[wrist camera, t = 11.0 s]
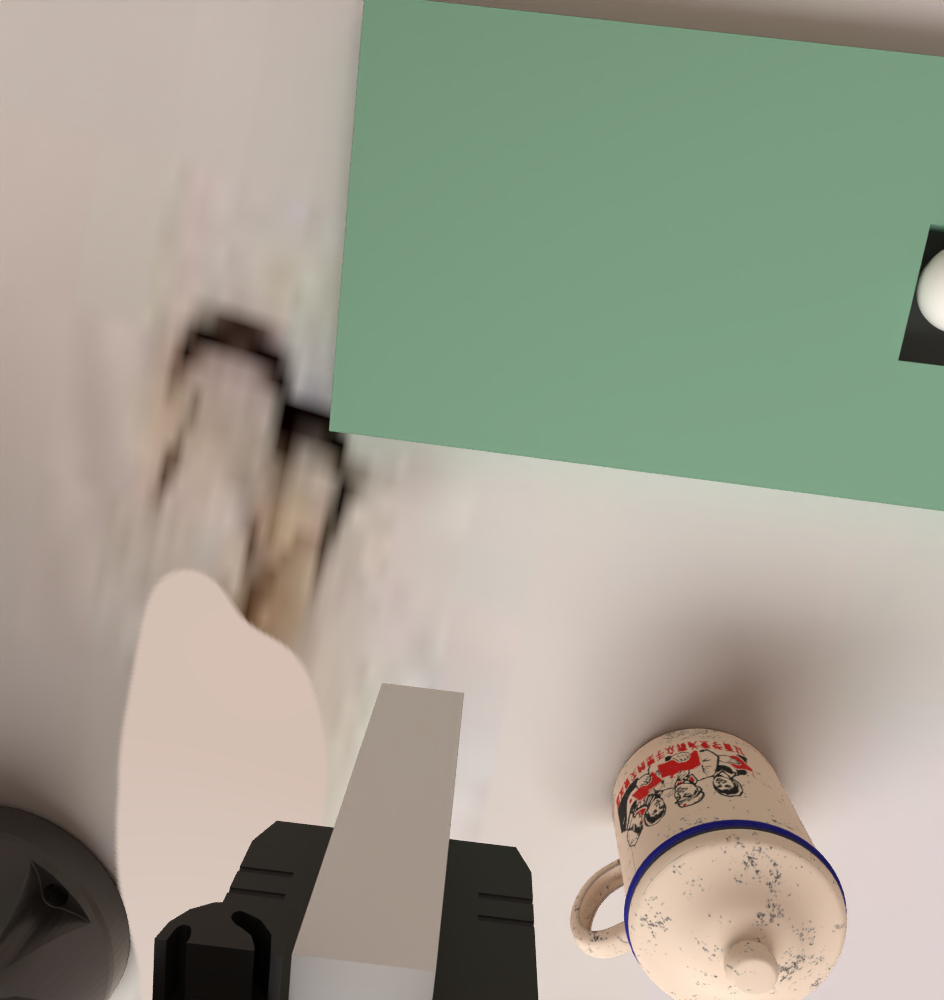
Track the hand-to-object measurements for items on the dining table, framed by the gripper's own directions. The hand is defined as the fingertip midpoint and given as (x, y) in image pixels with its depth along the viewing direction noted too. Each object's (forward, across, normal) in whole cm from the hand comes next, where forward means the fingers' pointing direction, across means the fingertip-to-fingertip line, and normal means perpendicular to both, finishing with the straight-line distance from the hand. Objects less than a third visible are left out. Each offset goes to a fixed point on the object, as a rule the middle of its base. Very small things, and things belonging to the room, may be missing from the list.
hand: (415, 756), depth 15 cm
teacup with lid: (+25, -12, +16) cm, 32 cm away
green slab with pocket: (+25, -10, -11) cm, 29 cm away
